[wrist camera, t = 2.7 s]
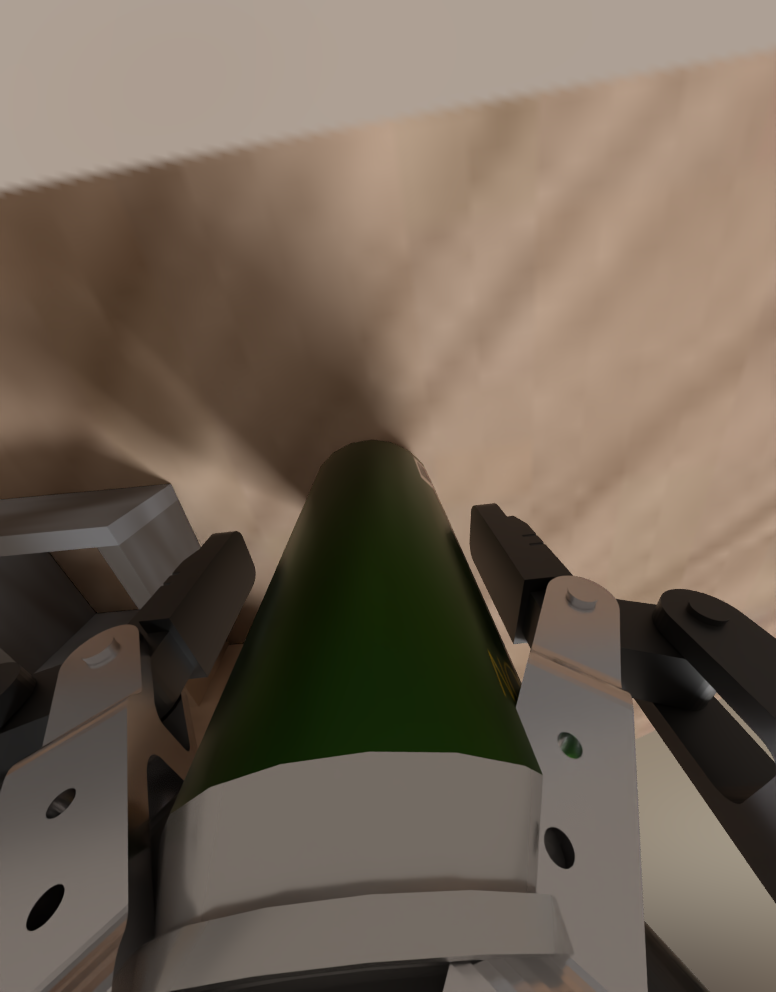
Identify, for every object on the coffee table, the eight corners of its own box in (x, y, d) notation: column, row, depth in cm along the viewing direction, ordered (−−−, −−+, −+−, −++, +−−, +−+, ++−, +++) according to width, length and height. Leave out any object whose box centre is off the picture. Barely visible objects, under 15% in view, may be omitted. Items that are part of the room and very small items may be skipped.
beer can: (384, 409, 12) (489, 904, 1) (450, 499, 14) (694, 969, 3) (291, 481, 13) (-46, 1032, 3) (364, 554, 15) (346, 1021, 5)
